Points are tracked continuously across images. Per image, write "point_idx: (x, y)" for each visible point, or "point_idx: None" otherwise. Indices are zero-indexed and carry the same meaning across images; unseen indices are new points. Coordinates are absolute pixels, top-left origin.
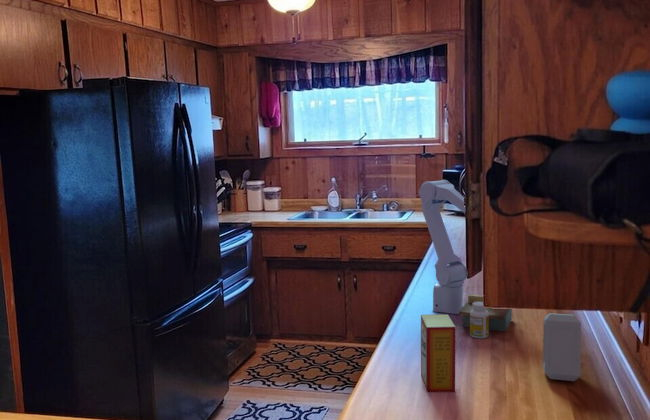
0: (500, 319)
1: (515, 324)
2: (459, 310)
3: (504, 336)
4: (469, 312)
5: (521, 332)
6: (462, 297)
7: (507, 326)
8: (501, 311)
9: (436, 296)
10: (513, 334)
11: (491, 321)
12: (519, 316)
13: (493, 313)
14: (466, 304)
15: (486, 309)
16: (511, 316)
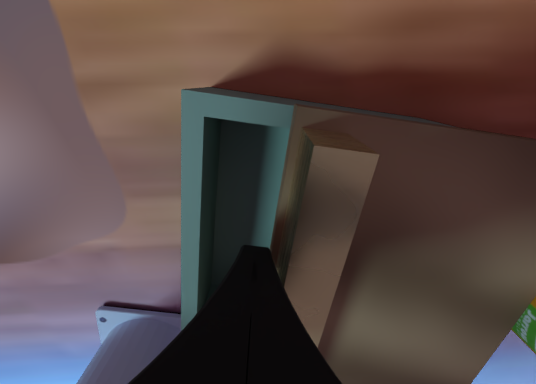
0: None
1: (282, 60)
2: (174, 328)
3: (503, 123)
4: (483, 358)
5: (437, 18)
6: (112, 378)
7: (369, 111)
8: (478, 181)
9: None
10: (473, 72)
11: None
12: (104, 32)
13: (527, 237)
14: None
15: (418, 282)
16: (211, 88)
